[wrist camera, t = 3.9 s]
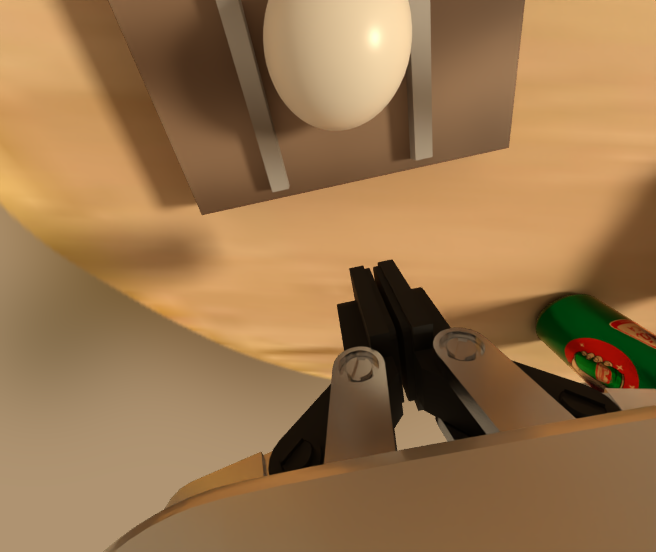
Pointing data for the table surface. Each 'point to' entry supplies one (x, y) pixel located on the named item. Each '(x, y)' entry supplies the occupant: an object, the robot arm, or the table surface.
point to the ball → (337, 57)
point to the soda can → (599, 343)
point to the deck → (293, 133)
